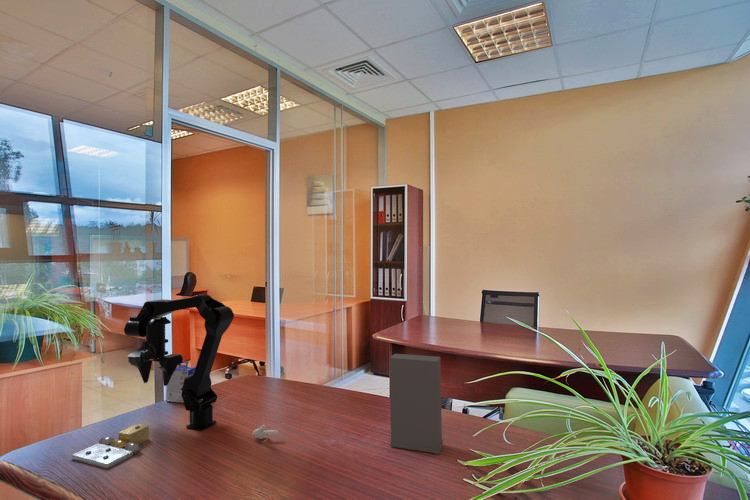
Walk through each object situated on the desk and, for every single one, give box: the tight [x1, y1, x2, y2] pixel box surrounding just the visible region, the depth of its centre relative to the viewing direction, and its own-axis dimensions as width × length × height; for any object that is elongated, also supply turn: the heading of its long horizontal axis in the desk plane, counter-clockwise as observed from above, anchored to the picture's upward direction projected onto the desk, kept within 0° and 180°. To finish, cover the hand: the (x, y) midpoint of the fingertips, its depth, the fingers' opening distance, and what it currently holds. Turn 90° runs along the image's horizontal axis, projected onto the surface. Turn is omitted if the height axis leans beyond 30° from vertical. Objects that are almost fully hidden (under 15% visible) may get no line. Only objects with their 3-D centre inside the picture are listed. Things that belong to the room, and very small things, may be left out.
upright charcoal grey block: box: [389, 353, 444, 455], centre depth 108 cm, size 14×6×25 cm, turn 71°
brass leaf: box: [110, 423, 150, 449], centre depth 111 cm, size 4×8×4 cm, turn 159°
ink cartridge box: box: [165, 360, 196, 404], centre depth 146 cm, size 10×6×14 cm, turn 78°
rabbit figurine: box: [250, 424, 280, 443], centre depth 112 cm, size 6×4×8 cm
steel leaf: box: [71, 436, 142, 470], centre depth 104 cm, size 14×9×2 cm
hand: (155, 384), depth 127 cm, fingers open, 9 cm apart
